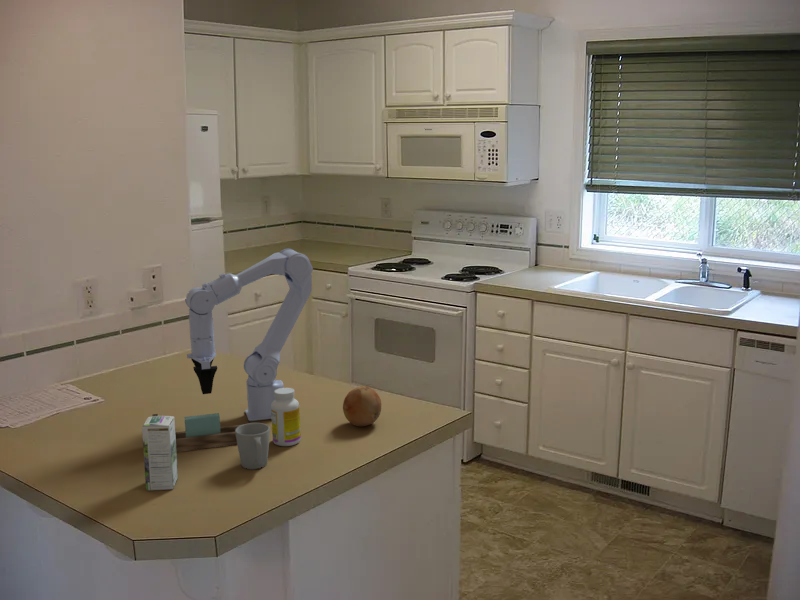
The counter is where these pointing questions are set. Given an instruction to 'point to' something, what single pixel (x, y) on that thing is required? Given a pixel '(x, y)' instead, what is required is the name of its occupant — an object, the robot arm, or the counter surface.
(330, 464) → the counter surface
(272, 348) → the robot arm
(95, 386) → the counter surface
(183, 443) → the track
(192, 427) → the teal rectangular block
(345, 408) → the grapefruit
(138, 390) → the counter surface
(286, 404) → the supplement bottle
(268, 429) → the cup
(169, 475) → the syrup box
